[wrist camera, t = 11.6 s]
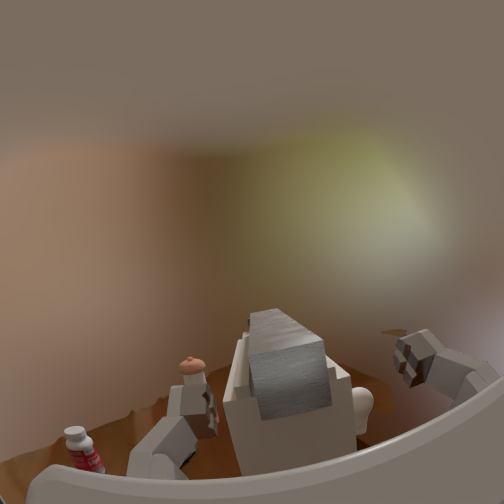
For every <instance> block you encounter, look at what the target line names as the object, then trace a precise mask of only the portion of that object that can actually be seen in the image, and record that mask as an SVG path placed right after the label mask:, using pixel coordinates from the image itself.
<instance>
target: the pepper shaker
mask: <svg viewBox="0 0 504 504" xmlns="http://www.w3.org/2000/svg"><path fill="white" fill-rule="evenodd" d="M204 370H205V363H204V362H203V361H202V360H199V359H193V358H192V357H188V358H187V360H186V361H184V362H182V363H181V364H180V365H179V372H180V373H181V374H183V377H184V381H185V385H192V384H204V383H206V380H205V375H204V372H203V371H204ZM215 420H216V423H217V424H218V422H219V418H218V414H217V416H216V418H215Z"/></svg>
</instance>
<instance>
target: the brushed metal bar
mask: <svg viewBox="0 0 504 504" xmlns="http://www.w3.org/2000/svg"><path fill="white" fill-rule="evenodd" d="M248 358H249V363H250V368H251V373H252V378H253V383H254V388H255V393H256V398H257V402H258V407H259V412H260V417H261V421H266V420H271V419H277V418H282V417H287V416H292V415H297V414H301V413H306V412H310V411H314V410H318V409H322V408H326V407H329V406H332V398H331V391H330V383H329V376H328V369H327V362H326V355H325V349H324V342H323V339H321V338H320V337H318V336H317V335H315V334H313V333H312V332H311V331H309V330H308V329H306V328H305V327H303V326H302V325H300V324H299V323H297V322H296V321H294V320H293V319H292V318H290V317H289V316H287V315H286V314H284V313H283V312H281V311H280V310H279V309H277V308H276V309H271V310H266V311H261V312H255V313H251V314H250V329H249V346H248Z"/></svg>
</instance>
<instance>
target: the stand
mask: <svg viewBox="0 0 504 504" xmlns="http://www.w3.org/2000/svg"><path fill="white" fill-rule="evenodd" d="M248 325H249V329H250V319H248ZM248 346H249V332H246V333H243V339H242V340H238V343H237V348H236V352H235V355H234V359H233V363H232V367H231V371H230V375H229V379H228V383H227V387H226V391H225V395H224V399H223V406H224V410H225V414H226V418H227V422H228V426H229V430H230V434H231V437H232V441H233V445H234V448H235V452H236V456H237V459H238V463H239V466H240V470H241V473H242V477H245V476H254V475H261V474H267V473H273V472H279V471H285V470H290V469H295V468H299V467H304V466H308V465H312V464H316V463H320V462H324V461H328V460H331V459H335V458H338V457H342V456H345V455H348V454H351V453H354V452H357V445H356V430H355V417H354V406H353V396H352V386H351V377H350V375H349V374H348V373H347V372H345V371H344V370H343V369H342V368H341V367H339V366H338V365H337V364H336V363H334V362H333V361H332V360H331V359H330V358H328V357H327V356H326V362H327V369H328V376H329V383H330V391H331V398H332V406H329V407H326V408H322V409H318V410H314V411H310V412H306V413H301V414H297V415H292V416H287V417H282V418H277V419H271V420H266V421H261V417H260V412H259V407H258V402H257V398H256V393H255V388H254V383H253V378H252V373H251V368H250V363H249V358H248Z"/></svg>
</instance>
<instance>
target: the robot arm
mask: <svg viewBox="0 0 504 504" xmlns="http://www.w3.org/2000/svg"><path fill="white" fill-rule="evenodd" d="M396 346H397V348H398V349H397V351H396V352H395V353H394V365H395V367H396V369H397V371H398V372H399V373H401V374H403V380H404V381H405V383H406V385H407V386H408V387H409V389H410V388H413V387H415V386H417V385H420V384H422V383H425V384H427V385H428V386H430V387H432V388H434V389H435V390H437V391H439V392H441V393H443V394H444V395H446V396H448V397H450V398H452V399H453V400H454V401H453V403H452V405H451V406H450V409H449V411H448V412H446V413H444V414H443V415H441V416H439V417H437V418H435V419H433V420H431V421H429V422H427V423H425V424H423V425H421V426H419V427H417V428H415V429H413V430H411V431H408V432H406V433H404V434H402V435H399V436H397V437H395V438H392V439H390V440H387V441H385V442H382V443H380V444H377V445H374V446H372V447H369V448H366V449H363V450H360V451H357V452H354V453H351V454H348V455H345V456H342V457H338V458H335V459H331V460H328V461H324V462H320V463H316V464H312V465H308V466H304V467H299V468H295V469H290V470H285V471H279V472H273V473H267V474H261V475H254V476H245V477H236V478H225V479H209V480H189V479H188V478H187V477H186V476H185V475H184V474H183V472H182V471H181V470H180V469H179V468H180V467H181V465H182V464H183V462H184V461H185V459H186V457H187V456H188V454H189V453H190V451H191V450H192V448H193V447H194V445H195V444H196V442H197V441H198V440H197V439H203V438H213V437H218V435H217V423H216V420H215V418H216V416H217V408H216V403H215V399H214V396H213V395H212V394H210V387H209V384H208V383H204V384H192V385H181V386H172V387H171V389H170V395H169V402H168V409H167V417H163V418H162V419H161V420H160V421H159V422H158V423H157V424H156V425H155V426H154V427H153V429H152V430H151V431H150V432H149V433H148V434H147V435H146V436H145V437H144V438H143V439H142V440H141V441H140V442H139V444H138V445H137V446H136V447H135V448H134V449H133V450H132V451H131V452H130V457H129V463H128V469H127V475H126V477H122V476H114V475H107V474H101V473H95V472H89V471H84V470H79V469H75V468H70V467H66V466H62V465H56V464H55V465H51V466H49V467H48V468H46V469H45V470H44V471H43V472H41V473H40V474H39V475H38V476H36V477H35V478H34V479H33V480H32V482H31V484H30V486H29V489H28V493H27V497H26V502H25V504H504V375H503V376H502V377H501V376H500V375H499V374H498V373H497V372H496V371H495V370H494V368H493V367H492V366H491V365H490V364H489V363H488V362H487V361H484V360H481V359H478V358H475V357H472V356H469V355H467V354H464V353H461V352H458V351H455V350H452V349H449V348H447V349H445V347H444V346H443V345H442V344H441V343H440V342H439V341H438V340H437V339H436V338H435V336H434V335H433V334H432V333H431V332H430V331H429V330H428V329H424V330H421V331H419V332H417V333H413V334H411V335H408V336H405V337H403V338H400V339H398V341H397V344H396ZM0 504H6V503H5V501H4V500H3V498H2V497H1V495H0Z"/></svg>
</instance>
